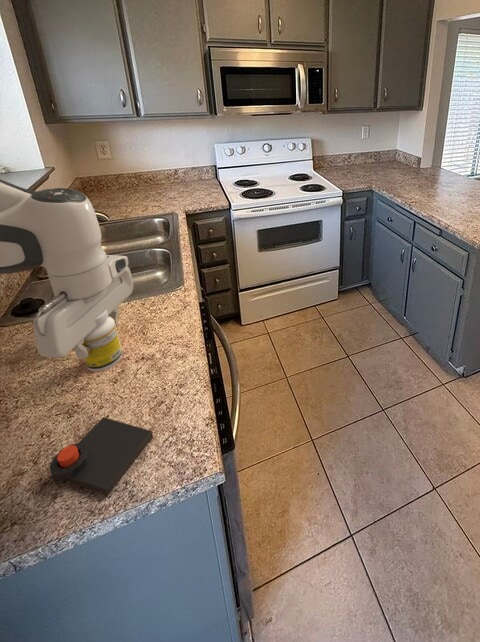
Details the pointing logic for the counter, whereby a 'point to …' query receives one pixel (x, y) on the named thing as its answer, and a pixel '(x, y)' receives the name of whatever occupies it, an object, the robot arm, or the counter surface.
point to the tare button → (68, 456)
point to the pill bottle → (103, 344)
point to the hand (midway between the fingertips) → (99, 341)
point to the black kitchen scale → (103, 456)
